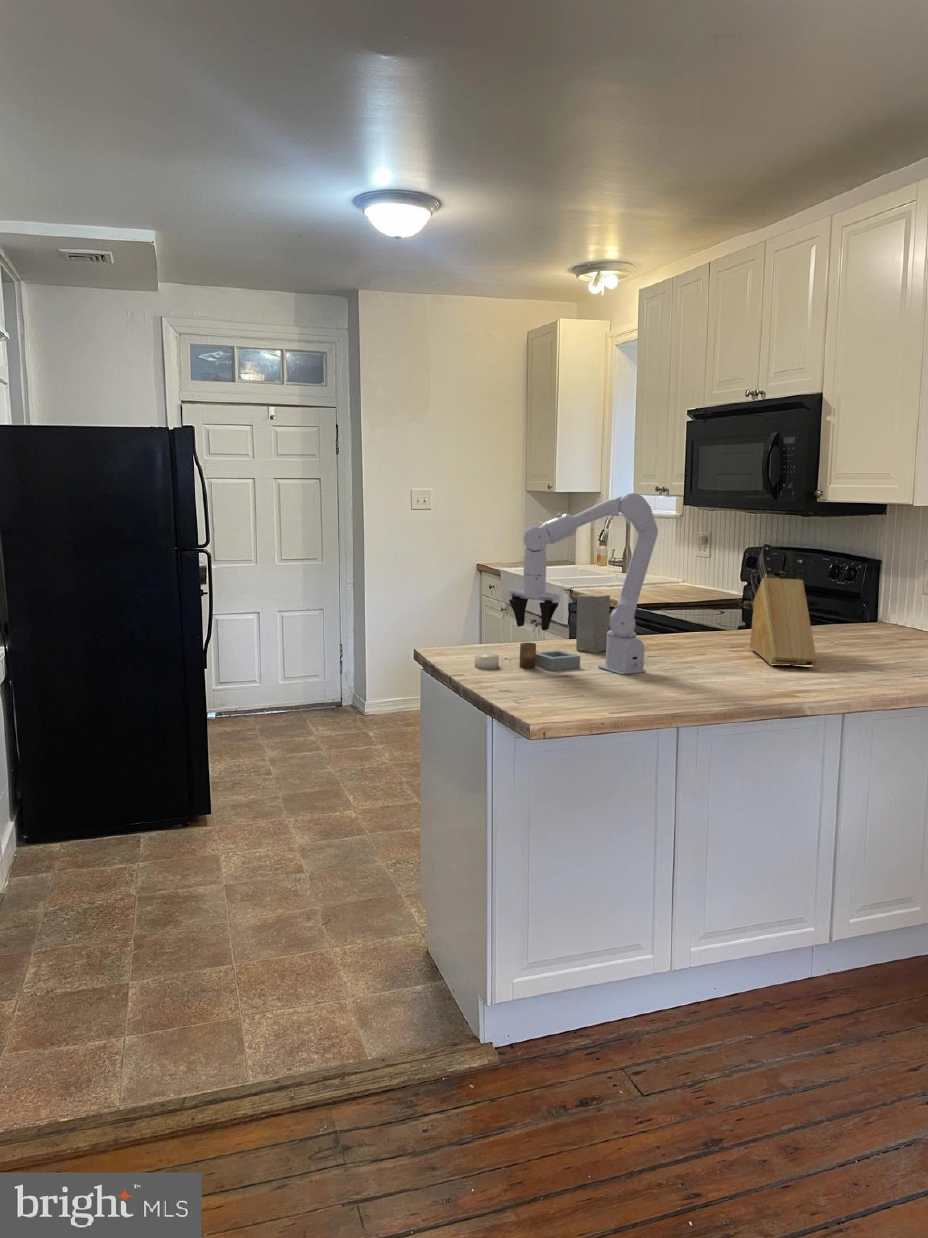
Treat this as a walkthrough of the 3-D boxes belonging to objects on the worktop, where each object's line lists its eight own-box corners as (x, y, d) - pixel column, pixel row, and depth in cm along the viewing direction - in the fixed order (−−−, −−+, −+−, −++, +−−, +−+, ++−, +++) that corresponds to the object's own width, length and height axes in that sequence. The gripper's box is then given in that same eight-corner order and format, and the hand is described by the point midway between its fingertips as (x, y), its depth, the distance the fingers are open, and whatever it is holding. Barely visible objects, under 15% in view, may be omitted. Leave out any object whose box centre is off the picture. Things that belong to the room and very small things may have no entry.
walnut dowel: (538, 668, 225) (539, 644, 225) (525, 669, 223) (526, 645, 223) (529, 665, 229) (530, 642, 228) (516, 666, 227) (517, 643, 226)
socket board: (579, 667, 227) (580, 656, 227) (550, 670, 223) (551, 658, 222) (558, 661, 235) (559, 649, 234) (530, 664, 230) (530, 652, 230)
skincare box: (595, 654, 246) (598, 596, 244) (573, 650, 250) (575, 594, 248) (610, 649, 253) (613, 594, 250) (588, 646, 257) (590, 591, 254)
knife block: (781, 646, 265) (789, 541, 260) (816, 671, 230) (827, 551, 225) (742, 645, 266) (750, 540, 261) (771, 669, 231) (781, 549, 226)
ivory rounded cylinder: (503, 668, 225) (503, 656, 225) (482, 670, 222) (483, 658, 221) (490, 663, 230) (490, 652, 230) (470, 665, 227) (470, 654, 227)
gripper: (567, 576, 225) (565, 629, 227) (520, 571, 234) (518, 622, 236) (551, 578, 219) (549, 632, 221) (504, 573, 228) (502, 625, 230)
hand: (532, 627), depth 228 cm, fingers open, 7 cm apart
